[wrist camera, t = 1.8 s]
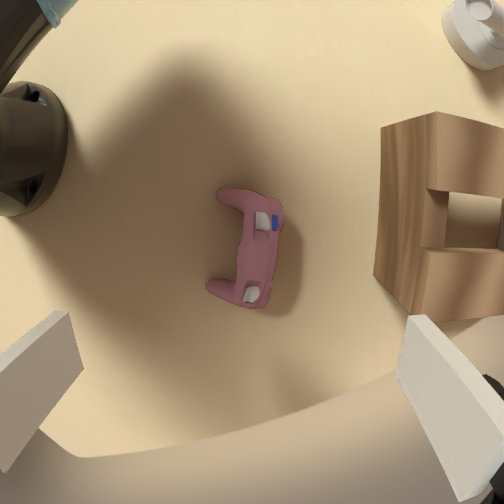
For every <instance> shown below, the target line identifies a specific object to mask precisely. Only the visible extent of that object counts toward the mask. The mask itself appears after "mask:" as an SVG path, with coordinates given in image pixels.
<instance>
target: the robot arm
mask: <svg viewBox="0 0 504 504" xmlns="http://www.w3.org/2000/svg"><path fill="white" fill-rule="evenodd" d="M77 1H78V0H0V216H5V217H11V216H17V215H20V214H24V213H28V212H30V211H32V210H34V209H36V208H37V207H39V206H40V205H41V204H42V203H43V202H44V201H45V200H46V199H47V198H48V196H49V195H50V194H51V192H52V191H53V189H54V187H55V185H56V183H57V181H58V179H59V177H60V174H61V171H62V168H63V164H64V160H65V155H66V148H67V125H66V119H65V114H64V111H63V108H62V106H61V103H60V101H59V100H58V98H57V97H56V95H55V94H54V93H53V92H52V91H51V90H50V89H48V88H47V87H45V86H42V85H39V84H35V83H32V82H26V81H20V82H14V83H10V84H8V83H9V81H10V80H11V78H12V77H13V76H14V74H15V73H16V71H17V70H18V69H19V67H20V66H21V65H22V63H23V62H24V61H25V59H26V58H27V57H28V56H29V54H30V53H31V52H32V51H33V49H34V48H35V47H36V46H37V45H38V43H39V42H40V41H41V40H42V39H43V38H44V37H45V35H46V34H47V33H48V32H49V31H50V30H51V29H52V28H53V27H54V28H57V27H58V26H59V24H60V22H61V19H62V18H63V17H64V15H65V14H66V13H67V12H68V11H69V10H70V9H71V8H72V7H73V6H74V5H75V4H76V3H77ZM83 369H84V367H83V364H82V361H81V357H80V354H79V350H78V347H77V343H76V340H75V336H74V332H73V328H72V324H71V320H70V316H69V312H61V311H54V312H53V313H51V314H50V315H49V316H47V317H46V318H45V319H44V320H42V321H41V322H40V323H39V324H37V325H36V326H35V327H34V328H32V329H31V330H30V331H29V332H28V333H26V334H25V335H24V336H23V337H22V338H20V339H19V340H18V341H17V342H16V343H14V344H13V345H12V346H11V347H10V348H8V349H7V350H6V351H5V352H4V353H3V354H1V355H0V471H1V472H3V473H6V472H7V470H8V469H9V468H10V466H11V465H12V463H13V462H14V461H15V459H16V458H17V456H18V455H19V454H20V452H21V451H22V449H23V448H24V447H25V445H26V444H27V442H28V441H29V440H30V438H31V437H32V436H33V434H34V433H35V431H36V430H37V429H38V427H39V426H40V425H41V423H42V422H43V421H44V419H45V418H46V417H47V415H48V414H49V413H50V411H51V410H52V409H53V408H54V406H55V405H56V404H57V402H58V401H59V400H60V398H61V397H62V396H63V395H64V393H65V392H66V391H67V389H68V388H69V387H70V386H71V384H72V383H73V382H74V381H75V379H76V378H77V377H78V375H79V374H80V373H81V372H82V370H83ZM395 377H396V379H397V381H398V382H399V384H400V386H401V388H402V389H403V391H404V393H405V395H406V397H407V399H408V400H409V402H410V404H411V406H412V408H413V410H414V412H415V414H416V415H417V417H418V419H419V421H420V423H421V425H422V427H423V429H424V431H425V433H426V435H427V437H428V439H429V440H430V443H431V445H432V447H433V449H434V451H435V452H436V455H437V457H438V459H439V461H440V463H441V465H442V467H443V469H444V471H445V473H446V475H447V477H448V479H449V481H450V484H451V486H452V488H453V490H454V492H455V495H456V497H457V499H458V501H459V502H461V501H464V500H466V499H469V498H471V497H473V496H476V495H478V494H480V493H481V492H482V490H483V489H484V488H485V487H486V486H487V484H488V483H489V482H490V483H491V485H492V487H493V489H492V490H491V492H490V493H489V494H488V495H487V496H486V498H485V499H484V500H483V501H482V502H481V503H480V504H485V503H486V504H504V388H503V386H502V385H501V384H500V383H499V382H498V381H496V380H495V379H493V378H492V377H490V376H488V375H487V374H485V375H480V373H479V372H478V371H477V369H476V368H475V367H474V366H473V365H472V364H471V363H470V362H469V360H468V359H467V358H466V357H465V356H464V355H463V354H462V353H461V352H460V351H459V349H458V348H457V347H456V346H455V345H454V344H453V343H452V342H451V341H450V340H449V339H448V338H447V337H446V336H445V334H444V333H443V332H442V331H441V330H440V329H439V328H438V327H437V326H436V325H435V324H434V323H433V322H432V321H431V320H430V319H429V318H428V317H427V316H426V315H425V314H423V315H411V316H408V319H407V324H406V329H405V334H404V339H403V343H402V348H401V352H400V356H399V361H398V365H397V369H396V373H395Z"/></svg>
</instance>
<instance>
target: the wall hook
mask: <svg viewBox="0 0 504 504" xmlns="http://www.w3.org/2000/svg"><path fill="white" fill-rule="evenodd" d="M442 27H443V31H444V34H445V36H446V38H447V40H448V42H449V44H450V45H451V47H452V48H453V49H454V51H455V52H456V53H457V54H458V55H459V56H460V57H461V58H462V59H463V60H464V61H465V62H466V63H468V64H469V65H470V66H472V67H474V68H476V69H479V70H484V71H487V70H491V69H494V68H497V67H500V66H503V65H504V8H502V7H501V6H500V5H499V4H498V3H496V2H495V1H494V0H455V1H454V2H453V3H451V4H450V5H449V6H447V7H446V8H445V9H444V11H443V13H442Z"/></svg>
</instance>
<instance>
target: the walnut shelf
mask: <svg viewBox="0 0 504 504" xmlns="http://www.w3.org/2000/svg"><path fill="white" fill-rule="evenodd" d="M449 192H458V193H466V194H474V195H482V196H490V197H497V198H502V208H501V218H500V227H499V235H498V243H497V249H484V248H444V242H445V234H446V224H447V213H448V200H449ZM373 275H374V276H375V277H376V278H377V279H378V280H379V281H380V283H381V284H382V285H383V286H384V287H385V288H386V289H387V290H388V291H389V292H390V293H391V294H392V295H393V296H394V298H395V299H396V300H397V301H398V302H399V303H400V304H401V305H402V306H403V307H404V308H405V310H406V311H407V312H408V313H409V314H410V315H423V314H425V315H426V316H427V317H428V318H429V319H430V320H431V321H432V322H444V321H454V320H463V319H472V318H481V317H489V316H496V315H503V314H504V129H503V128H500V127H496V126H493V125H489V124H486V123H482V122H479V121H475V120H471V119H467V118H463V117H459V116H455V115H451V114H446V113H442V112H437V111H436V112H433V113H429V114H426V115H422V116H418V117H415V118H412V119H408V120H405V121H401V122H398V123H395V124H391V125H388V126H385V127H382V128H381V175H380V201H379V218H378V232H377V244H376V254H375V264H374V273H373Z"/></svg>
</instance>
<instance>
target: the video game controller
mask: <svg viewBox="0 0 504 504" xmlns="http://www.w3.org/2000/svg"><path fill="white" fill-rule="evenodd" d="M216 197H217V199H218V200H220V201H221V202H222V203H225V204H227V205H230V206H233V207H235V208H237V209H239V210H240V211H242V212H243V213H244V221H243V224H242V239H241V242H240V245H239V248H238V251H237V256H236V265H237V277H236V282H232V281H228V280H222V279H210V280H208V281H207V282H206V284H205V286H206V289H207V290H208V291H209V292H210V293H211V294H213V295H215V296H217V297H219V298H221V299H223V300H226V301H228V302H230V303H232V304H234V305H237V306H240V307H244V308H249V309H257V308H264V307H265V306H266V305H267V303H268V302H269V299H270V292H271V283H272V280H273V276H274V271H275V266H276V260H277V253H278V242H279V234H280V232H281V230H282V226H283V220H284V215H283V208H282V205H281V203H280V201H279V200H277V199H275V198H267V197H266V196H264V195H262V194H259V193H257V192H254V191H251V190H245V189H235V188H225V189H220V190H218V191H217V192H216Z"/></svg>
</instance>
